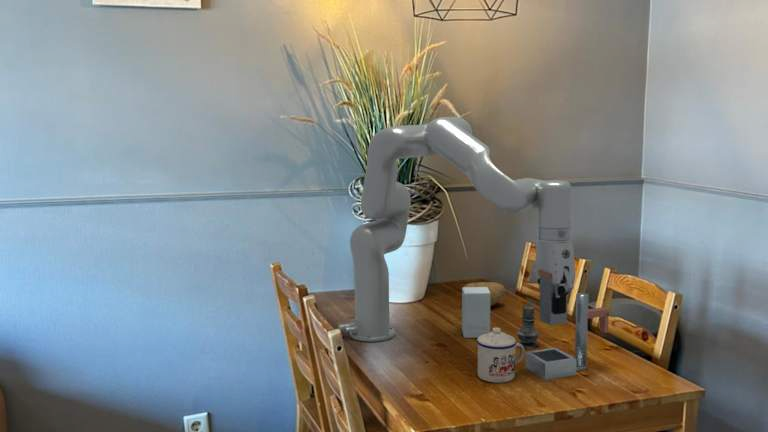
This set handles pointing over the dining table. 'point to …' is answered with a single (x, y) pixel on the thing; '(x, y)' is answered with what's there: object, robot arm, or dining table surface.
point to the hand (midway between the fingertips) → (553, 309)
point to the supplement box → (475, 311)
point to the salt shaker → (528, 328)
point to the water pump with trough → (564, 365)
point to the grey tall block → (549, 301)
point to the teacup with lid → (497, 356)
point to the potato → (491, 290)
